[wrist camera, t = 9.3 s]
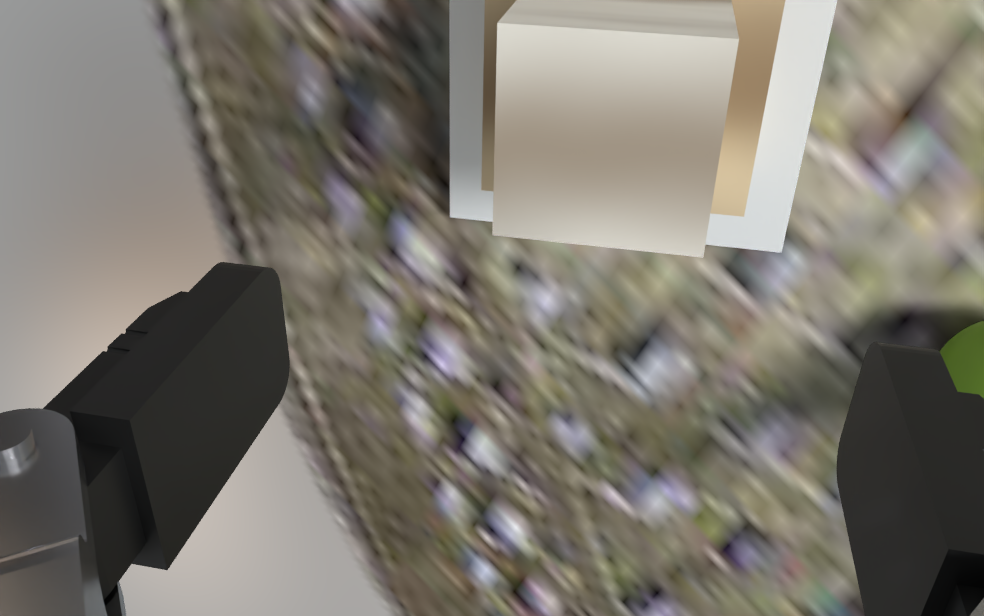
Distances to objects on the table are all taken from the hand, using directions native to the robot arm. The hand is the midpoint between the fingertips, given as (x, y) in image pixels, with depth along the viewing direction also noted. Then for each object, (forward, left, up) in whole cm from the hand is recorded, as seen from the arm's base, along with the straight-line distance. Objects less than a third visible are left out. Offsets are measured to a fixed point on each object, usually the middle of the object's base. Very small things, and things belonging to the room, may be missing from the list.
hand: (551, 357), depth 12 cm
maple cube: (0, 0, -15) cm, 15 cm away
